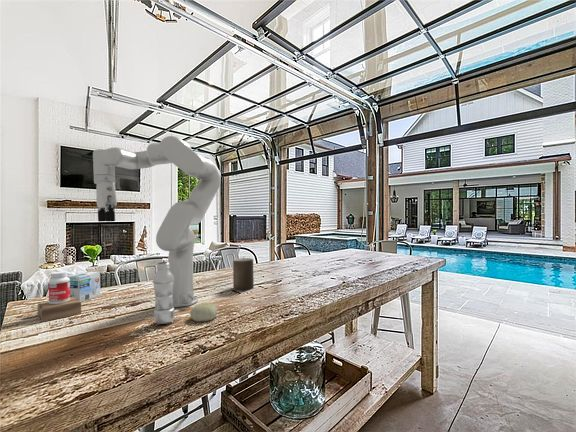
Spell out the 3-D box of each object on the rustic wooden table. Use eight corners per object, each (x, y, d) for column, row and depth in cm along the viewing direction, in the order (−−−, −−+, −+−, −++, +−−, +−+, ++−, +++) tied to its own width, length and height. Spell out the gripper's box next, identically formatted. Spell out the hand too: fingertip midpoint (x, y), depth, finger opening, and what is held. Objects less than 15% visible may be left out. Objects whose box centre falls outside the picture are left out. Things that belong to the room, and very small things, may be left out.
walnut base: (81, 313, 106) (80, 301, 106) (42, 321, 98) (41, 309, 98) (74, 306, 114) (74, 296, 114) (37, 314, 106) (37, 302, 106)
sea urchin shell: (224, 308, 104) (215, 297, 99) (215, 330, 99) (205, 319, 93) (202, 306, 107) (192, 295, 102) (193, 326, 102) (182, 316, 96)
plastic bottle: (162, 328, 92) (160, 265, 92) (149, 323, 95) (148, 263, 95) (179, 321, 97) (178, 262, 97) (166, 317, 101) (165, 260, 101)
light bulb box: (79, 302, 119) (79, 276, 119) (66, 302, 121) (65, 276, 120) (101, 295, 130) (100, 271, 130) (88, 294, 131) (88, 271, 131)
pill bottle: (45, 305, 102) (44, 274, 102) (52, 300, 108) (52, 271, 108) (67, 303, 104) (66, 273, 104) (72, 298, 110) (72, 269, 110)
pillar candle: (252, 290, 134) (251, 258, 134) (231, 290, 135) (230, 258, 135) (254, 285, 144) (254, 255, 144) (235, 285, 144) (235, 255, 144)
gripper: (122, 178, 117) (124, 220, 117) (108, 182, 129) (109, 221, 129) (101, 177, 111) (102, 221, 112) (88, 181, 123) (89, 221, 123)
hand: (106, 221), depth 120 cm, fingers open, 9 cm apart
